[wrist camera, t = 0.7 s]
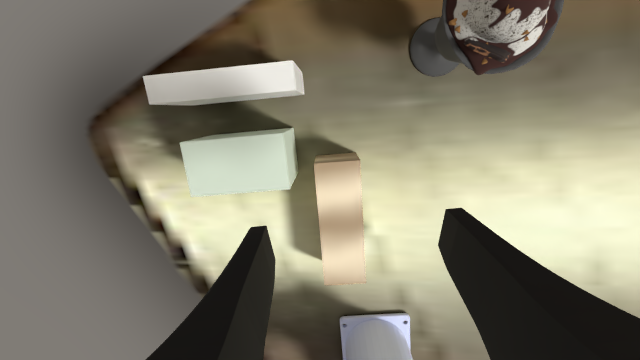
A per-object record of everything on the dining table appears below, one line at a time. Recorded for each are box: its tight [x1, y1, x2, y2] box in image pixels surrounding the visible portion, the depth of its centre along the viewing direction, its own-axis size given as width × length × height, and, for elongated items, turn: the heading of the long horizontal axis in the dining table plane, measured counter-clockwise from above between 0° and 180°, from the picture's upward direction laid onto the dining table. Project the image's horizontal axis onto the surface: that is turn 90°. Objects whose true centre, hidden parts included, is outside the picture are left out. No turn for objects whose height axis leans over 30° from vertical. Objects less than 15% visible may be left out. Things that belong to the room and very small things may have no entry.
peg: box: [314, 153, 366, 285], centre depth 28 cm, size 12×4×5 cm, turn 5°
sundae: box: [410, 0, 564, 77], centre depth 18 cm, size 7×7×15 cm
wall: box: [143, 60, 304, 106], centre depth 24 cm, size 2×11×7 cm, turn 95°
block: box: [180, 128, 298, 197], centre depth 25 cm, size 4×8×6 cm, turn 95°
